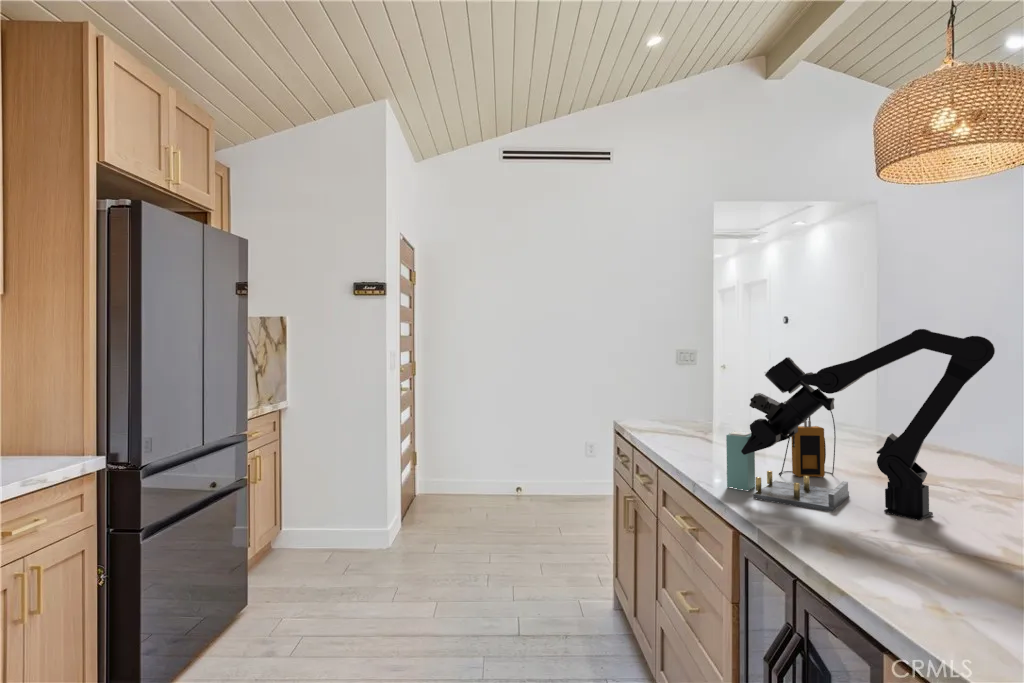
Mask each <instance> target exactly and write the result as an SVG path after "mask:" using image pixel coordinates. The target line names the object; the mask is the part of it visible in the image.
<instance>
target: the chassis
mask: <svg viewBox="0 0 1024 683" xmlns="http://www.w3.org/2000/svg"><path fill="white" fill-rule="evenodd" d="M766 484H767V485H765V486H764V487H762V477H761V476H755V491H756V492H755V493H753V499H754V498H757V499H756V500H759V499H762V500H761V501H765V500H767V502H771V501H773V503H777V502H779V504H783V503H785V505H789V504H791V505H790V506H795V505H796V506H797V507H800V506H802V508H806V507H807V508H808V509H813V510H817V511H825V512H830V513H833V512H835V511H836V510H837V508H839V506H841V505H842V504H843V503H844V502H845V501H846V500H847V498H849V497H850V491H849V481H845V480H842V481H841V482H840V483H839V484H838V485H837V486H836V487H834V488H828V487H821V486H813V485H810V476H803V484H801V483H800V482H786V481H779V480H774V481H773V471H772V470H767V471H766ZM796 506H795V507H796Z"/></svg>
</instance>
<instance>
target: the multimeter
mask: <svg viewBox="0 0 1024 683" xmlns="http://www.w3.org/2000/svg"><path fill="white" fill-rule="evenodd" d="M830 413H831V417H832V421H833V430H834V432H833V434H834V439H833V440H834V443H833V461H832V463H833V464H832V472H829V471H825V467H826V466H825V464H826V456H827V450H826V449H827V448H826V446H827V445H826V438H825V428H824V427H822V426H819V425H818V426H817V425H815V426H814V425H813V426H812V422H811V416H810V417H809V418H808V421H807V420H806V421H805V422H804V423H803V426H802V425H799V426H798V432H797V433H796V434H795V435H793V436H792V437H790V438H788V439H787V444H786V449H785V454H784V458H783V459H784V460H783V464H782V466H781V468H782V469H781V472H778V475H780V476H779V477H781V476H782V474H783V473H782V472H784V473H792V475H794V476H796V477H798V478H801V477H804V476H809V478H810V477H814V478H815V477H818V478H823V477H825V475H826V474H825V473H827V474H830V475H834V471H835V470H834V469H835V457H836V437H837V436H836V425H835V419H834V415H833V412H832V410H830ZM790 440H791V467H792V468H791V470H790V471H789V470H787V471H784V467H785V462H786V459H787V458H786V457H787V453H788V448H789V444H790Z"/></svg>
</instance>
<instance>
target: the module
mask: <svg viewBox="0 0 1024 683" xmlns="http://www.w3.org/2000/svg"><path fill="white" fill-rule="evenodd" d="M725 436H726V437H725V438H726V439H725V440H726V441H725V443H726V488H727V487H733V488H737V489H743V490H750V489H751V488H753V487H755V488H756V464H755V463H756V461H755V460H756V457H755V455H756V454H755V452H756V451H755V452H752V453H749V454H745V455H744V454H743V453H742V452H741V450H742V449H743V447H744V446H745V444H746V443H747V441H748V440H749V438H750V437H751V432H746V431H745V432H744V431H738V430H737V431H735V430H734V431H732V432H729V433H728V434H726V435H725ZM753 489H754V488H753ZM751 490H752V489H751ZM751 490H750V491H751Z"/></svg>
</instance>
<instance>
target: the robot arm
mask: <svg viewBox="0 0 1024 683" xmlns="http://www.w3.org/2000/svg"><path fill="white" fill-rule="evenodd" d="M921 350H928V351H932V352H935V353H940V354H943V355H944V354H945V355H949V356H951V357H950V359H949V361H948V364H947V367H946V369H945V371H944V374H943V376H942V377H941V378H940V380H939V381H938V382H937V384H936V385H935V387H934V389H933V390H932V391H931V393H930V394H929V395H928V397H927V399H926V400H925V401H924V403H923V404H922V405H921V407H920V408H919V410H918V411H917V413H916V414H915V415H914V417H913V418H912V419H911V420H910V423H908V426H907V427H906V428H905V429H904V430H903V432H902V433H901V434H899V436H897V435H896V434H894V433H891V434H890V435H888V436H887V437H886V439H885V442H884V443H883V446H882V447H880V448H879V449H878V450H877V451H876V454H877V455H878V456H877V459H876V465H877V468H878V470H880V472H881V473H882V474H884V475H885V476H886V477H887V479H888V481H887V487H885V489H884V498H885V499H884V504H885V505H884V506H885V509H884V510H883V511H884V512H883V513H885V514H890V515H894V514H895V516H898V515H899V517H902V518H903V517H904V518H908V519H912V520H916V519H917V521H922V520H924V519H926V517H927V518H929V517H931V516H933V515H934V513H933V512H932V511H930V491H929V489H930V487H929V486H930V485H926V484H923V483H924V482H925V480H926V478H927V475H928V471H926V470H925V469H924V468H923V467H922V466H921V465H919V464H918V462H916V461H917V459H918V456H919V454H920V451H921V449H922V446H923V444H924V442H925V440H926V438H927V437H928V435H929V434H930V433H931V431H932V430H933V429H934V427H935V426H936V425H937V423H938V421H939V420H940V418H942V416H943V415H944V413H945V412H946V410H947V409H948V408H949V407H950V405H951V404H952V402H953V401H954V399H955V398H956V396H958V394H959V393H960V391H961V390H962V388H963V387H964V386H965V384H967V383H968V382H969V381H970V380H971V379H972V378H974V376H975V375H977V374H978V373H979V371H981V370H982V369H983V368H984V367H985V366H986V365H987V364H988V363H989V362H990V361H991V360H992V359H993V358H994V356H995V352H996V348H995V345H994V343H992V341H991V340H989V339H988V338H986V337H983V336H980V335H970V336H966V337H964V338H963V337H959V336H953V335H949V334H944V333H940V332H934V331H931V330H929V329H926V328H925V329H924V328H918V329H915V330H913V331H912V332H911V333H910V334H907V335H904V336H903V337H901V338H899V339H897V340H894V341H892V342H890V343H887V344H886V345H883V346H881V347H879V348H877V349H875V350H873V351H871V352H869V353H867V354H864V355H862V356H860V357H858V358H856V359H852V360H848V361H845V362H841V363H838V364H834V365H831V366H828V367H823V368H821V369H820V370H818V371H817V372H812V371H811V372H806V373H805V372H804V371H803V370H802V369H801V368H800V367H799V366H798V365H797V364H796V363H795V362H794V360H793V359H792V358H791V357H789V356H788V357H785V358H783V359H782V360H781V361H779V362H778V363H777V364H775V365H773V366H772V367H770V368H769V369H768V370H767V371H766V373H765V374H764V376H765V377H766V378H767V379H768V380H769V381H770V382H771V383H772V384H773V385H774V386H775V387H776V388H777V389H778V390H779V391H780V392H781V393H782V394H785V393H788V394H792V393H794V392H795V391H796V392H795V393H794V394H793V395H792V396H790V397H789V398H788V399H787V400H786V401H784V402H783V401H781V402H779V401H777V399H773V398H771V397H770V396H767V395H766V394H764V393H762V392H761V393H760V392H758V393H757V392H756V393H754V395H753V397H751V398H750V402H749V407H751V408H752V409H756V410H758V411H759V412H762V413H764V414H765V415H764V418H758V419H755V420H754V421H753V422H751V424H749V429H750V433H751V437H750V438H749V440H748V441H747V443H746V444H745V446H744V447H743V449H742V450H741V452H742V453H743V454H744V455H745V454H749V453H752V452H757V451H761V450H765V449H768V448H771V447H772V446H774V445H776V444H777V443H781V442H783V441H786V440H789V438H790V439H791V438H792V436H793V435H795V434H796V433H797V432H798V426H801V424H804V422H805V421H807V420H808V421H809V417H810V418H811V416H812V415H814V414H815V413H816V412H817V411H818V410H820V409H821V408H822V407H824V408H825V409H826V410H827V411H830V410H831V411H832V410H834V409H835V397H828V396H827V395H826V394H836V393H839V392H842V391H844V390H846V389H848V388H849V387H850V386H851V385H853V384H855V383H857V381H858V380H861V379H862V378H863V377H865V376H866V375H868V374H870V373H872V372H874V371H876V370H878V369H880V368H884V367H885V366H887V365H889V364H893V363H894V362H896V361H899V360H901V359H903V358H907V356H910V355H912V354H915V353H916V352H919V351H921ZM801 386H802V387H801ZM812 386H813V387H812ZM800 387H801V388H800ZM814 387H816V389H814ZM799 388H800V389H799ZM831 411H830V412H831Z"/></svg>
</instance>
